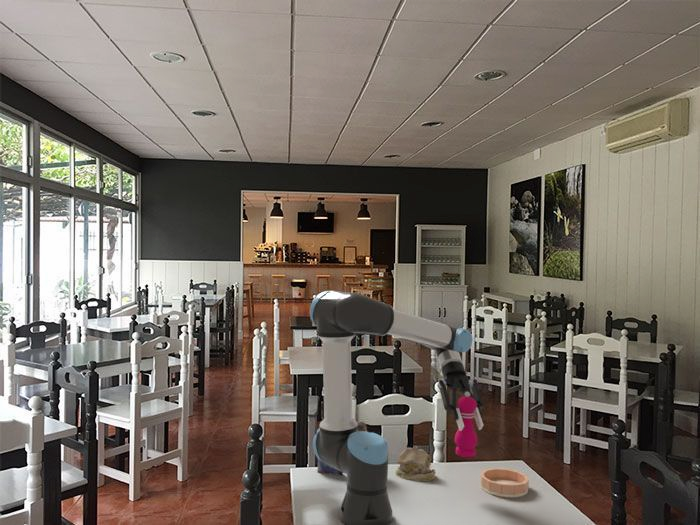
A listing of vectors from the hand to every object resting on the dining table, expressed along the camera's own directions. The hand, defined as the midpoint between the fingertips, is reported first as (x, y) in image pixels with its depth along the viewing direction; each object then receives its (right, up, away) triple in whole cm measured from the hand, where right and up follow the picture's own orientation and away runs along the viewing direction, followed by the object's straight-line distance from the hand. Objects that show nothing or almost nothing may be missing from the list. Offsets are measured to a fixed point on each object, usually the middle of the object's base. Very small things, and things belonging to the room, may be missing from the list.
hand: (471, 428), depth 189 cm
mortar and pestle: (-32, -22, +17) cm, 43 cm away
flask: (-45, -21, +20) cm, 54 cm away
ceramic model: (-15, -22, +20) cm, 34 cm away
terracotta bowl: (+13, -23, +10) cm, 28 cm away
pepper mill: (-1, -10, +4) cm, 10 cm away
